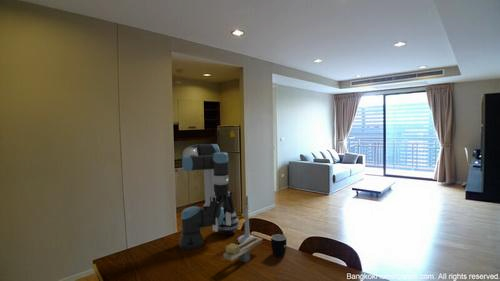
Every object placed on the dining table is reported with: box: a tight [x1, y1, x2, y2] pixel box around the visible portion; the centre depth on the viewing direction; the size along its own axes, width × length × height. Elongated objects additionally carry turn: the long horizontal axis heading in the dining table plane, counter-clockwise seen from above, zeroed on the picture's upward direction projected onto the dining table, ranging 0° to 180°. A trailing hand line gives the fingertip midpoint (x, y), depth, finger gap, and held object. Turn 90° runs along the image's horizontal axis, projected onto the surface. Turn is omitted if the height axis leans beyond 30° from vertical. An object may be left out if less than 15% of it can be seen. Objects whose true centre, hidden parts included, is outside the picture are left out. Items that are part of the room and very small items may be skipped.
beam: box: [222, 235, 264, 264], centre depth 145 cm, size 6×28×8 cm, turn 143°
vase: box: [218, 191, 240, 235], centre depth 184 cm, size 16×16×30 cm
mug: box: [270, 233, 287, 258], centre depth 152 cm, size 12×9×10 cm
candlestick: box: [236, 195, 255, 244], centre depth 171 cm, size 13×13×30 cm
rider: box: [225, 242, 240, 255], centre depth 137 cm, size 6×5×5 cm
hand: (222, 227), depth 130 cm, fingers open, 9 cm apart
